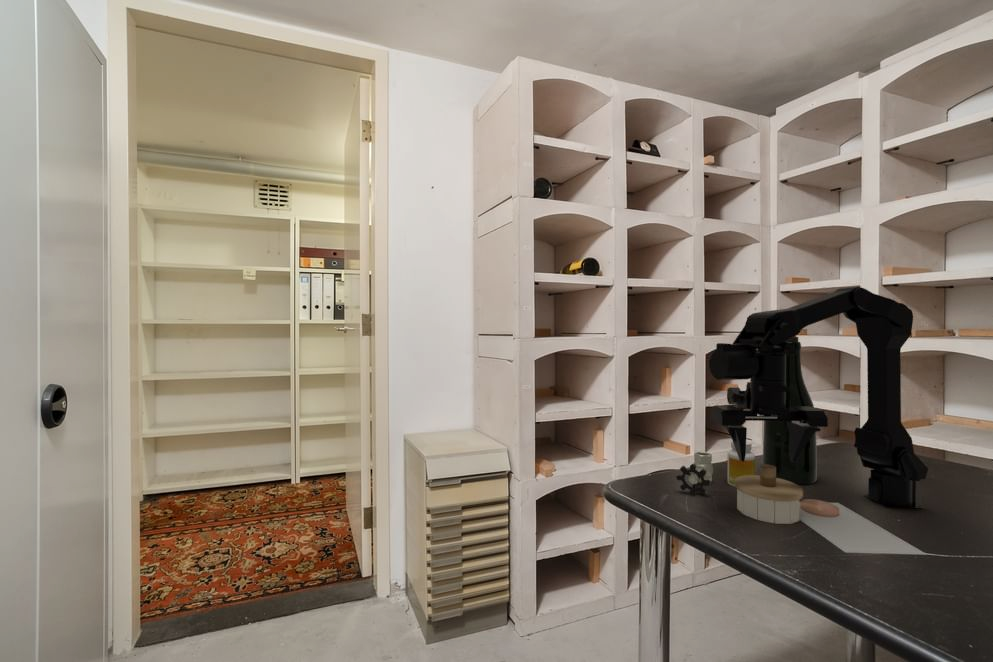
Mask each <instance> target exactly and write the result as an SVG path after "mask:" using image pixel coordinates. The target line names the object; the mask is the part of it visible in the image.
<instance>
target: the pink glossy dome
mask: <svg viewBox="0 0 993 662" xmlns="http://www.w3.org/2000/svg"><path fill="white" fill-rule="evenodd" d="M831 503H832V502H828V501H825V500H819V499H815V498H814V499H812V498H811V499H810V498H808V499H806V498H805V499H801V501H800V507H801V509H802V510H804V511H805V512H807V513H810V514H813V515H817V516H822V517H837V516H839V508H838V507H837V506H836V505H834V504H831Z"/></svg>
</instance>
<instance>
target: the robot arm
mask: <svg viewBox="0 0 993 662" xmlns="http://www.w3.org/2000/svg"><path fill="white" fill-rule="evenodd" d="M840 314H843V315H844V317H845V318H846V319H848V320H850V321H851V322H853V323H855V327H856V333H857V336H858V338H860V341H861V342H862V343H863V345H864V346H865V347H866V350H867V351H866V353H867V354H866V356H867V358H866V360H867V367H866V371H867V420H866V422H865V423H864V424H863V425H862V426H861V427H856V428H855V429H854V440H855V441H854V444H853V447H854V448H856V452H857V455H858V456H859V457H860V461H861V464H862V467H864V468H868V469H870V477H868V487H867V488H868V493H867V494H866V493H865V494H864V497H865V498H867V499H870V500H871V501H873V502H875V503H877V504H879V505H881V506H882V507H885V508H887V509H893V510H895V509H896V510H897V509H899V510H900V509H901V510H923V509H924V507H923V506H921V505H920V504H917V482H921V480H925V479H927V475H928V472H929V468H928V467H927V466H926V464H925V463H924V462H923V461H922V460H921V459H920V458H919V456H917V455H916V453H915V450H914V445H913V444H914V443H913V439H912V437H911V435H910V433H909V432H908V431H907V429H906V428H905V426H904V424H903V423H902V401H901V400H902V390H901V389H902V388H901V387H902V385H901V382H902V381H901V379H902V378H901V375H902V374H901V371H902V370H901V369H902V368H901V363H902V362H901V349H902V347H903V346H904V345H905V344H906V342H907V341H908V340H909V338H910V337H911V335H912V331H913V322H914V313H913V310H912V309H911V308H909V307H908V305H906V304H904V303H902V302H898V301H896V300H895V299H891V298H889V297H885V296H883V295H879V294H877V293H875V292H874V293H873V292H871V291H870V290H868V289H867V288H863V287H862V286H854V287H853V286H851V287H840V288H837V289H836V290H834V291H833V292H829V293H828V294H824V295H821V296H819V297H817V298H813V299H810V300H807V301H804V302H801V303H798V304H796V305H794V306H791V307H788V308H783V309H782V308H781V309H772V310H766V311H758V312H754V313H753V312H752V313H751V314H750V315H748V316H747V318H746V321H745V323H744V326H743V328H742V329H741V331H740V332H739V333H738V335H737V336H736V338H735V339H734V341H733V343H723V342H720V343H719V342H718V343H716V344H715V345H716V346H715V347H716V349H715V350H714V351H713V352H712V354H711V356H710V359H708V367H709V372H710V373H711V374H710V375H712V377H713V378H714V379H715V380H718V381H732V380H735V381H736V380H738V381H739V380H740V381H741V380H750V381H747V382H746V385H745V388H746V389H745V390H741V388H740V387H728V388H727V390H726V399H727V403H728V405H714V406H713V407H712V408H711V410H710V420H711V421H714V422H716V423H718V425H719V426H721V427H724V428H725V429H726V430H727V432H728V434H729V436H730V438H731V441H732V440H733V443H734V446H735V449H736V451H737V454H738V457H739V459H740V461H742V462H744V460H745V455H746V441H747V434H748V433H747V431H748V430H747V429H748V428H747V427H745V426H744V424H745V423H746V421H755V422H757V421H758V422H764V421H792V422H787V425H788V428H789V430H790V442H789V457H790V461H791V462H796V460H797V458H798V457H799V455H800V453H801V452H802V450H803V448H804V447H805V445H806V444H807V442H808V441H809V440H810V438H811V437H812V436H813V435H814V433H815V432H816V433H817V432H820V431H821V428H827V427H828V426H829V416H828V415H827V413H826V412H825V411H824V410H822V409H820V408H815V407H814V408H812V407H809V406H791V407H790V408H789V409H788V408H785V396H786V392H790V386H786V355H796V354H797V351H795V350H794V349H793V348H792V347H790V346H789V344H788V343H787V342H786V341H788V340H790V339H791V338H793V337H795V336H796V337H797V336H798V335H799V334H800V332H801V331H802V330H804V329H805V328H806V327H808V326H811V325H814V324H816V323H819V322H822V321H824V320H827V319H830V318H833V317H835V316H838V315H840ZM734 405H736V406H734Z"/></svg>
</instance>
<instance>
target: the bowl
mask: <svg viewBox="0 0 993 662" xmlns="http://www.w3.org/2000/svg"><path fill="white" fill-rule="evenodd" d="M736 491H737V492H736V495H737V496H736V509H737V510H738V511H739V512H740V513H741V514H743V515H744V516H747V517H748V518H751V519H754V520H756V521H762V522H765V523H771V524H778V525H779V524H780V525H782V524H783V525H791V524H795V523H797V522H800V520H799V502H801V501H800V500H801V499H800V500H797V501H789V502H783V501H772V500H766V499H761V498H757V497H753V496H750V495H747V494H745V493H743V492H741V491H739V490H738V489H737V488H736Z"/></svg>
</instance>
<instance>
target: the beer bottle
mask: <svg viewBox="0 0 993 662" xmlns="http://www.w3.org/2000/svg"><path fill="white" fill-rule="evenodd" d="M786 342H787V343H788V344H789V346H790V347H792V348H793V349H794V350H795V351H797V354H796V355H786V386H790V392H786V396H785V408H788V409H789V408H790V407H791V406H809V407H812V408H815V407H814V402H813V400H812V397H811V395H810V393H809V391H808V388H807V386H806V384H805V380H804V376H803V371H802V362H801V361H802V357H801V353H802V352H801V351H802V344H801V342H800V341H799V336H797V335H796V336H795V337H793V338H791V339H790V340H788V341H786ZM787 422H792V421H763V440H762V441H763V443H762V444H763V445H762V464H768V465H773V466H775V467H776V478H780V479H784V480H787V481H790V482H793V483H795V484H797V485H799V486H804V485H805V486H809V485H812V484H815V483H816V482H817V477H818V476H817V475H818V466H817V465H818V464H817V463H818V462H817V461H818V459H817V457H818V455H817V454H818V453H817V446H818V445H817V432H815V433H814V435H813V436H812V437H811V438H810V440H809V441H808V442H807V444H806V445H805V447H804V448H803V450H802V452H801V453H800V455H799V457H798V458H797V460H796V462H791V461H790V457H789V442H790V430H789V428H788V425H787Z"/></svg>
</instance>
